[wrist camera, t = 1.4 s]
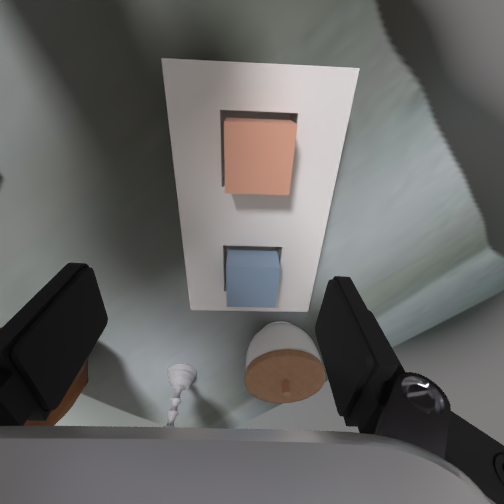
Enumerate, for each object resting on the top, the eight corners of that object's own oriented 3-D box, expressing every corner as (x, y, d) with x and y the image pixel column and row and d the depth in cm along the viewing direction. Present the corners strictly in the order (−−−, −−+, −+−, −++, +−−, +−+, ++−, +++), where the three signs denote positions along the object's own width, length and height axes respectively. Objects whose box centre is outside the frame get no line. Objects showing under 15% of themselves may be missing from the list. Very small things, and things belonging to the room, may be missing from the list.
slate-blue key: (228, 249, 27) (226, 266, 24) (277, 251, 27) (280, 268, 24) (228, 287, 29) (226, 306, 27) (273, 288, 29) (275, 307, 27)
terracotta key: (226, 117, 20) (223, 121, 18) (291, 120, 20) (297, 124, 18) (227, 181, 23) (225, 193, 20) (284, 183, 23) (289, 195, 20)
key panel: (177, 63, 22) (161, 58, 18) (338, 71, 23) (359, 68, 19) (197, 283, 35) (190, 310, 31) (300, 285, 36) (307, 312, 31)
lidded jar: (275, 364, 45) (281, 424, 37) (230, 334, 41) (226, 394, 33) (327, 334, 41) (346, 393, 33) (283, 298, 37) (293, 356, 29)
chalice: (168, 355, 43) (125, 502, 28) (207, 365, 45) (187, 509, 29) (158, 379, 47) (115, 521, 31) (194, 387, 48) (171, 527, 33)
